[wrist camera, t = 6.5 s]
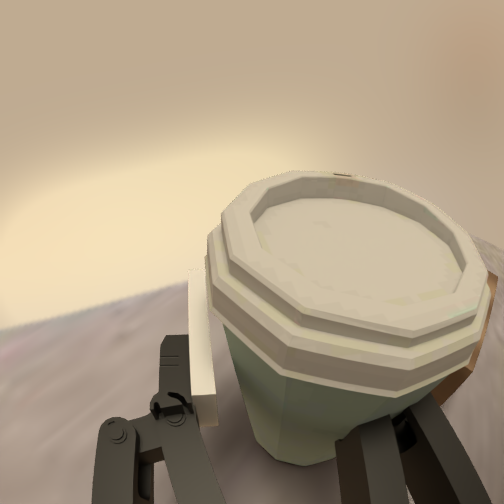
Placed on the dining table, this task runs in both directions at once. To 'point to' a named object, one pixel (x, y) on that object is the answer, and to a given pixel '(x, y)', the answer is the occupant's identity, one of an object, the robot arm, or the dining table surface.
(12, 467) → the dining table surface
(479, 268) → the disposable coffee cup
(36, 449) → the dining table surface
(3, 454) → the dining table surface
